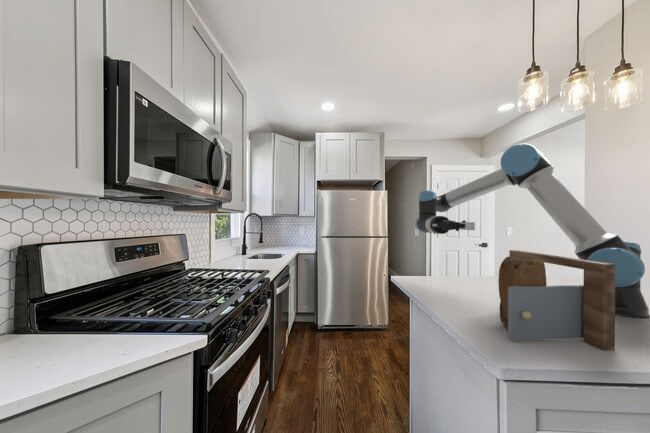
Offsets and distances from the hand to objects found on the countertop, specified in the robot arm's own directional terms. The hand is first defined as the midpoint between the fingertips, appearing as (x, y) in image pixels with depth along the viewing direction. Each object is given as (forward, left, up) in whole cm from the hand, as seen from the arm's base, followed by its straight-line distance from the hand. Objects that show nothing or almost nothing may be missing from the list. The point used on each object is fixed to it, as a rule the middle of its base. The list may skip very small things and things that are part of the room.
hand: (472, 226), depth 95 cm
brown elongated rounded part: (0, +20, -28) cm, 35 cm away
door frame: (-12, +18, -28) cm, 35 cm away
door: (-2, +27, -27) cm, 39 cm away
